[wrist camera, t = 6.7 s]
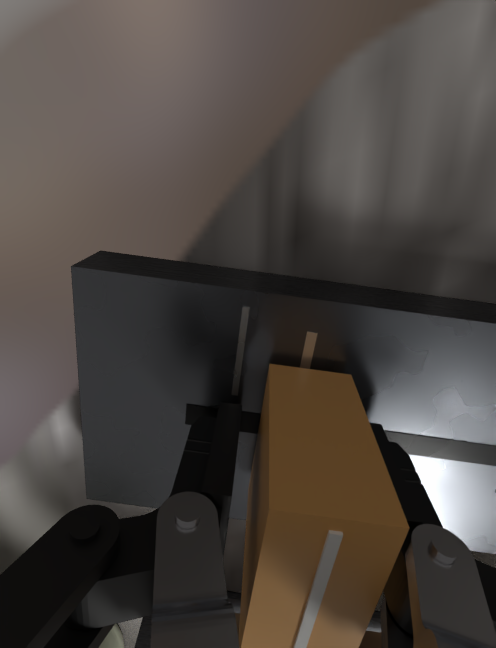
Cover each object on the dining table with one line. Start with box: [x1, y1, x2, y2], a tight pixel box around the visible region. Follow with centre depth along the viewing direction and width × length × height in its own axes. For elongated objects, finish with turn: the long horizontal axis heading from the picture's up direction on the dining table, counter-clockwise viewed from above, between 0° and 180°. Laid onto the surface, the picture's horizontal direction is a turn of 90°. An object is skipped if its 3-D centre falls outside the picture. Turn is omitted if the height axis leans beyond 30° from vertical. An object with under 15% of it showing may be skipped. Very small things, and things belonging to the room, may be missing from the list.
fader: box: [238, 364, 409, 648], centre depth 10 cm, size 2×5×5 cm, turn 173°
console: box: [71, 251, 496, 554], centre depth 13 cm, size 20×9×2 cm, turn 83°
